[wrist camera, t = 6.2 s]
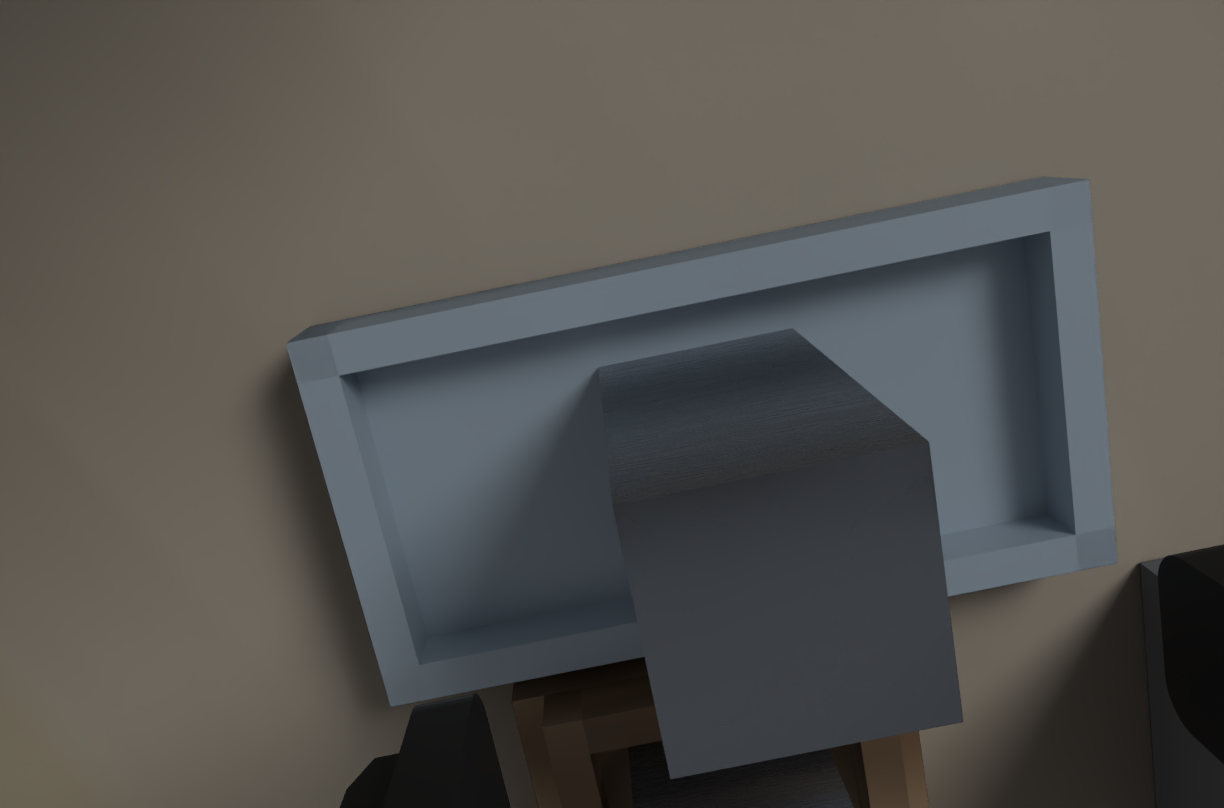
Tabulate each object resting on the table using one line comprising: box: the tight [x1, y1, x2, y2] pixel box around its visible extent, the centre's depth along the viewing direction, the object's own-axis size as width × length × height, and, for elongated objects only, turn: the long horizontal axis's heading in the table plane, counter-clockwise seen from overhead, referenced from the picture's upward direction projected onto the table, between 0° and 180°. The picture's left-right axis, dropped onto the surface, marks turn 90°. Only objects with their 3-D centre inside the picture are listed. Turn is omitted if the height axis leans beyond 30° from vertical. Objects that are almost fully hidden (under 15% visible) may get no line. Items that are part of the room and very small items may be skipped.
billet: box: [598, 328, 963, 779], centre depth 17 cm, size 4×4×8 cm
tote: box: [286, 177, 1117, 707], centre depth 20 cm, size 8×15×2 cm, turn 101°
